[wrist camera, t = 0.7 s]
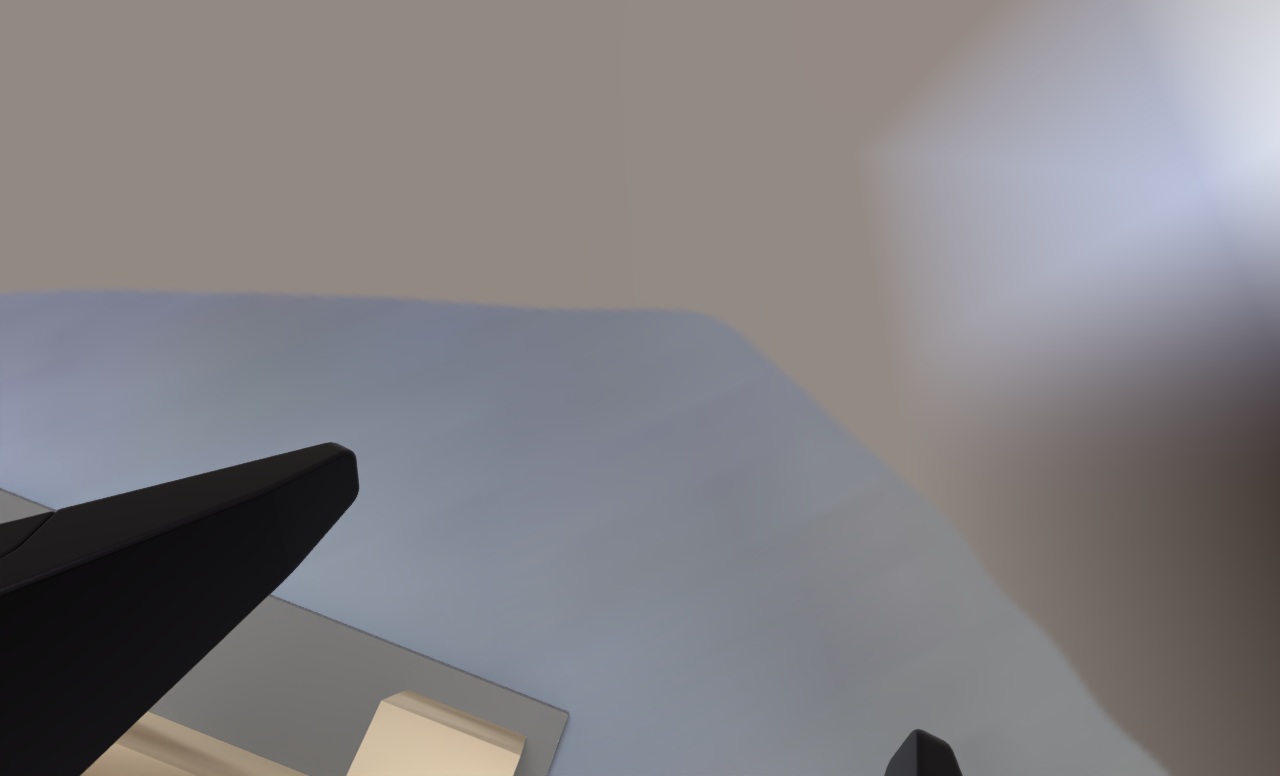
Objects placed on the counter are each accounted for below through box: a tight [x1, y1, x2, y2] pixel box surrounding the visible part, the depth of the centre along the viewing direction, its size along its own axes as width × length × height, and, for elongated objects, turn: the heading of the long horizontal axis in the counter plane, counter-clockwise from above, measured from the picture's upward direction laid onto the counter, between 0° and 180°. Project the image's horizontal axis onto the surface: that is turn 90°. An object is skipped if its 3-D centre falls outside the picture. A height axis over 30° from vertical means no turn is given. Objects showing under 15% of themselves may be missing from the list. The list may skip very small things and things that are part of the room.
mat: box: [0, 488, 569, 776], centre depth 18 cm, size 12×26×1 cm, turn 70°
